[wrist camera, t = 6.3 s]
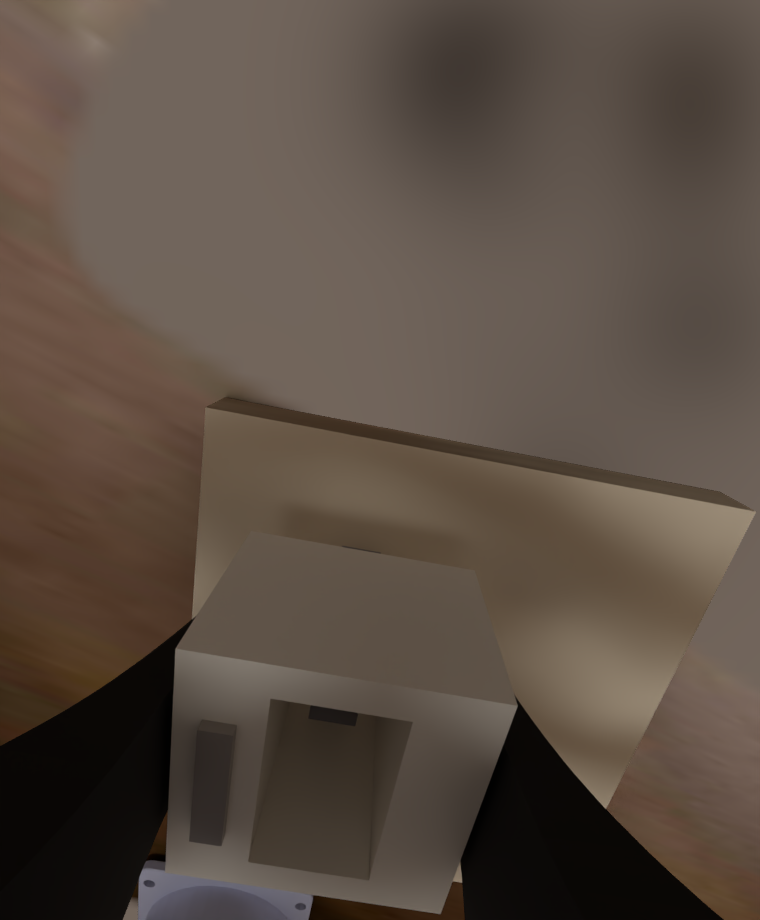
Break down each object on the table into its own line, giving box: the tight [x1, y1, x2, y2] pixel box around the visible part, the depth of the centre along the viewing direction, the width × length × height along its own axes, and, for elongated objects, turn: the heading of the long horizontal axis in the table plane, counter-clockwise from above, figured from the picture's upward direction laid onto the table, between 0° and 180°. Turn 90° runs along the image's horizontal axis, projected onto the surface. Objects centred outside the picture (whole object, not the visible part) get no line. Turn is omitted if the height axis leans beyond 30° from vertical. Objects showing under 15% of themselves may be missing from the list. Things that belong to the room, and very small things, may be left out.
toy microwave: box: [165, 531, 518, 914], centre depth 10 cm, size 6×6×4 cm
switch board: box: [192, 398, 756, 883], centre depth 14 cm, size 18×16×5 cm
